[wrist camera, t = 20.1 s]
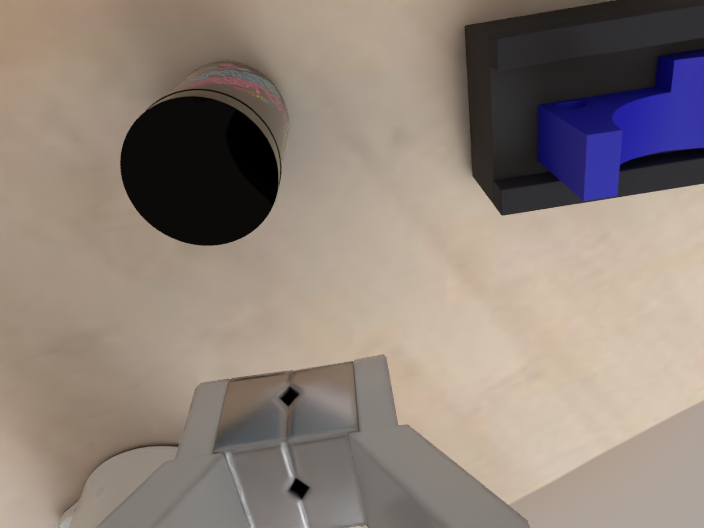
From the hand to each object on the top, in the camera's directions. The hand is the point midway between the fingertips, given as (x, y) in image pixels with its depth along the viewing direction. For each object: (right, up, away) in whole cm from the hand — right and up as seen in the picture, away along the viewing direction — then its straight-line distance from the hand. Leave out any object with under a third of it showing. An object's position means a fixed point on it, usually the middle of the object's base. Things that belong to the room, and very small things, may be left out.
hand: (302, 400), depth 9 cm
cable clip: (+16, +11, +21) cm, 28 cm away
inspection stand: (+16, +13, +25) cm, 32 cm away
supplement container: (-6, +11, +25) cm, 28 cm away
